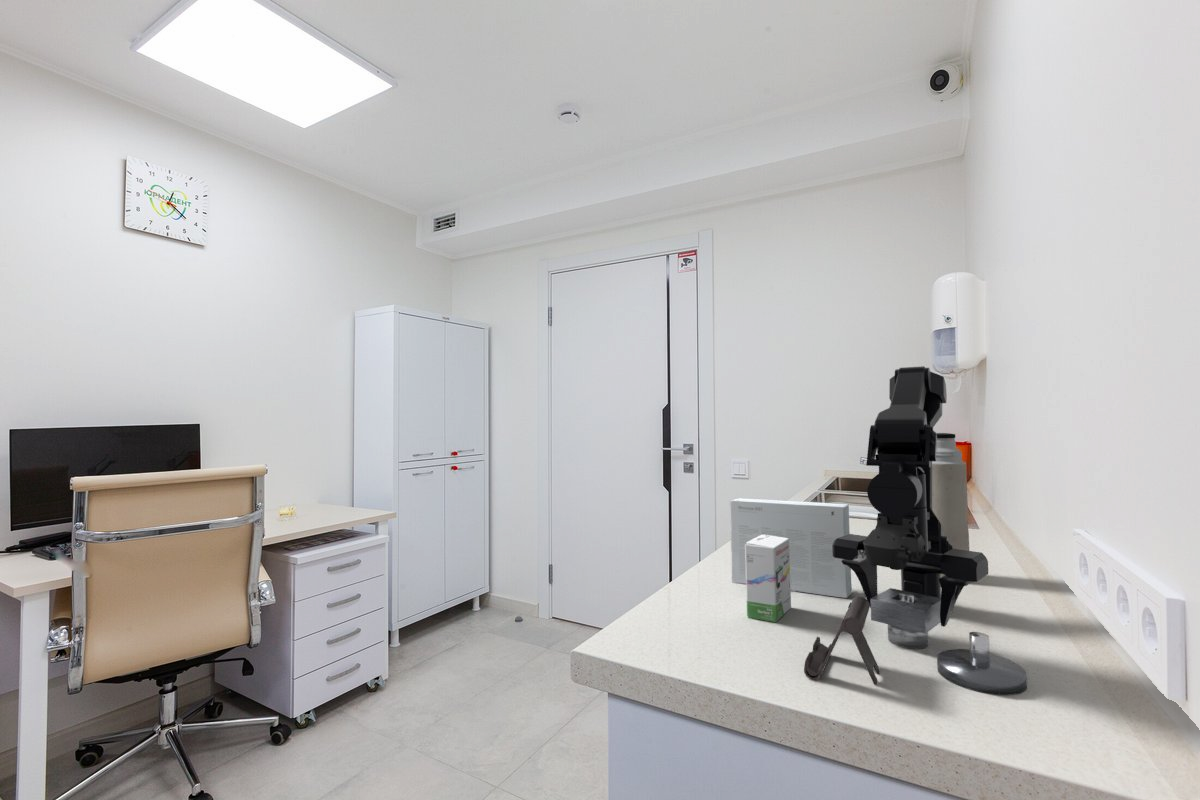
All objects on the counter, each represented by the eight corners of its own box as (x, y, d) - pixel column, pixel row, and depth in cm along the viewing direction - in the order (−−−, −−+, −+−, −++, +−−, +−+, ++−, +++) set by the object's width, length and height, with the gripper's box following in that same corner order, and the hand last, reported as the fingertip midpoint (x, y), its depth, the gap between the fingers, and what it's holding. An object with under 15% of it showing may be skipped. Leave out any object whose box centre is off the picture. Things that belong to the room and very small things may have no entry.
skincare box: (853, 591, 103) (850, 503, 103) (847, 599, 98) (845, 507, 98) (739, 575, 114) (737, 496, 114) (730, 582, 109) (728, 500, 110)
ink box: (776, 623, 87) (774, 546, 88) (745, 617, 90) (743, 543, 90) (792, 607, 94) (790, 536, 95) (763, 602, 97) (761, 533, 97)
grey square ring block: (891, 608, 84) (890, 588, 84) (943, 620, 79) (942, 598, 79) (871, 620, 80) (870, 598, 80) (925, 633, 74) (924, 610, 75)
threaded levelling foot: (896, 632, 83) (894, 587, 83) (934, 642, 79) (932, 595, 79) (882, 641, 79) (880, 595, 80) (920, 652, 76) (919, 603, 76)
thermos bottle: (954, 570, 114) (949, 432, 115) (980, 582, 106) (974, 433, 107) (914, 571, 114) (909, 432, 115) (937, 582, 106) (932, 434, 107)
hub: (951, 654, 75) (949, 616, 75) (1035, 677, 68) (1033, 635, 68) (926, 676, 69) (925, 634, 69) (1016, 703, 62) (1014, 657, 62)
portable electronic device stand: (816, 652, 77) (814, 590, 77) (881, 664, 73) (879, 598, 73) (804, 678, 69) (802, 609, 69) (875, 693, 65) (873, 620, 65)
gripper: (812, 505, 82) (816, 614, 81) (960, 521, 68) (965, 653, 67) (847, 497, 89) (850, 597, 88) (987, 510, 75) (991, 629, 75)
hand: (907, 617), depth 79 cm, fingers open, 9 cm apart
